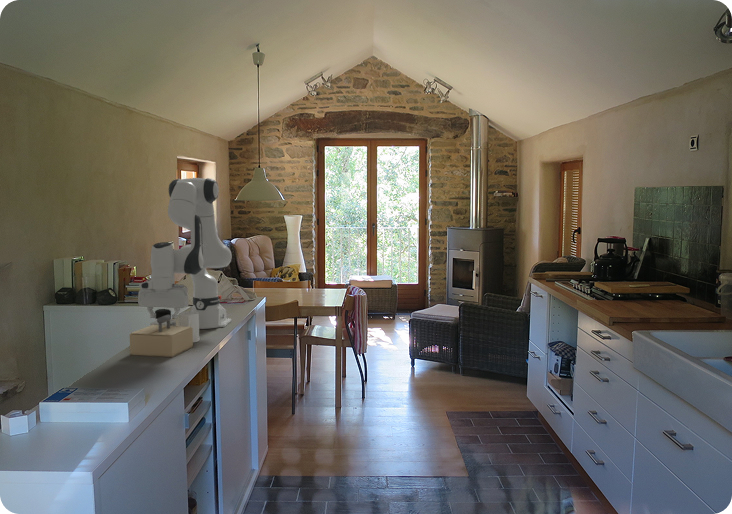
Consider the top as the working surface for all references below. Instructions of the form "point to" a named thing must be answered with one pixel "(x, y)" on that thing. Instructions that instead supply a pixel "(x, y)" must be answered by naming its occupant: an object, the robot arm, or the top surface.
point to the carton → (159, 342)
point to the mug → (190, 323)
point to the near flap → (168, 327)
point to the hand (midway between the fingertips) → (163, 318)
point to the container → (160, 314)
